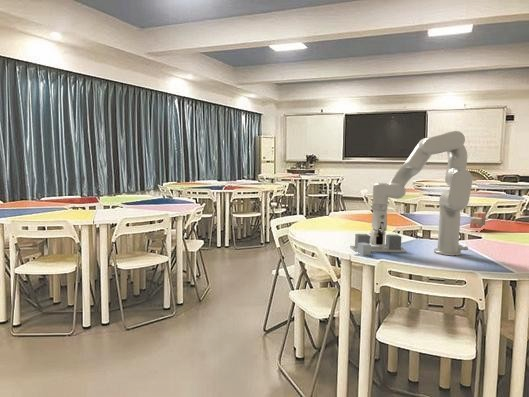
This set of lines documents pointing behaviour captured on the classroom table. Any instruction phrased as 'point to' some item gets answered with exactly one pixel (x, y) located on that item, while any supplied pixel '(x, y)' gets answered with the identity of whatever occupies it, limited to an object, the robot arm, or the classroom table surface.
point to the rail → (391, 246)
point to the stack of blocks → (478, 220)
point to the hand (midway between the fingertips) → (377, 242)
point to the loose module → (373, 237)
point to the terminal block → (364, 249)
